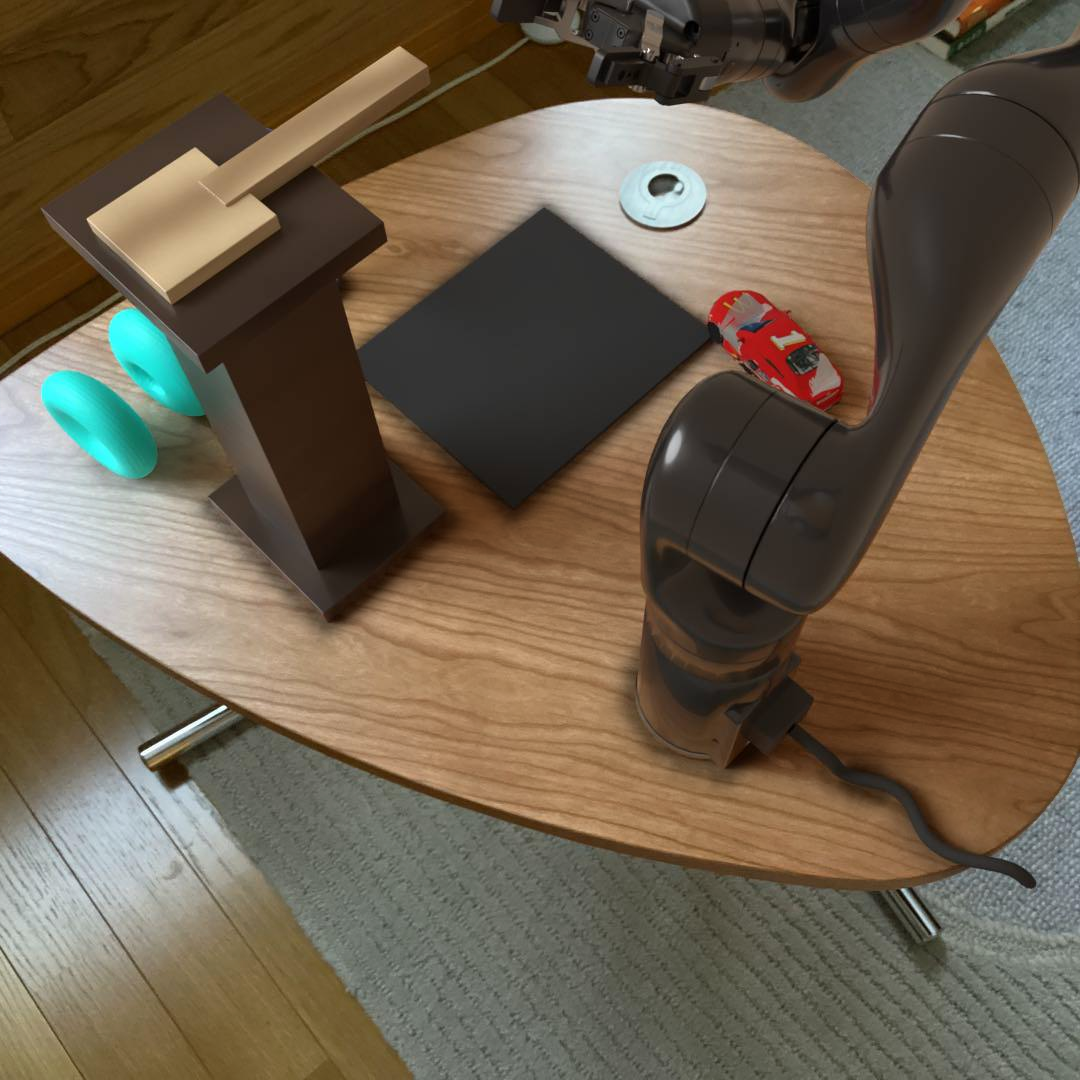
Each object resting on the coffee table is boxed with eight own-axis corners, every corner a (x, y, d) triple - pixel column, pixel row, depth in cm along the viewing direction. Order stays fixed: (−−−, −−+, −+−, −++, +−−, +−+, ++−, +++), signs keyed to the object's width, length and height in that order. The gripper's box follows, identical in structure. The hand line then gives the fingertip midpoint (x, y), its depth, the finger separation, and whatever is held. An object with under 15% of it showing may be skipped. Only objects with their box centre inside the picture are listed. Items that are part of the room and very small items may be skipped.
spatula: (458, 103, 64) (456, 86, 63) (172, 305, 58) (164, 289, 57) (376, 44, 66) (372, 26, 65) (93, 232, 61) (84, 215, 59)
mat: (715, 336, 96) (715, 332, 95) (513, 511, 89) (513, 508, 88) (544, 210, 103) (544, 206, 102) (345, 363, 96) (344, 359, 95)
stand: (448, 520, 88) (383, 221, 60) (327, 623, 85) (197, 356, 56) (331, 413, 93) (220, 91, 65) (212, 506, 90) (39, 207, 61)
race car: (692, 322, 96) (699, 289, 92) (744, 294, 97) (753, 261, 94) (795, 434, 91) (806, 405, 87) (848, 403, 92) (861, 373, 89)
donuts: (66, 443, 93) (11, 369, 84) (154, 359, 97) (110, 279, 88) (154, 505, 90) (107, 435, 81) (242, 416, 94) (206, 339, 85)
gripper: (636, -66, 83) (483, -80, 71) (791, 27, 78) (654, 28, 66) (598, 38, 87) (449, 41, 76) (742, 132, 82) (606, 150, 71)
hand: (545, 35), depth 71 cm, fingers open, 8 cm apart
